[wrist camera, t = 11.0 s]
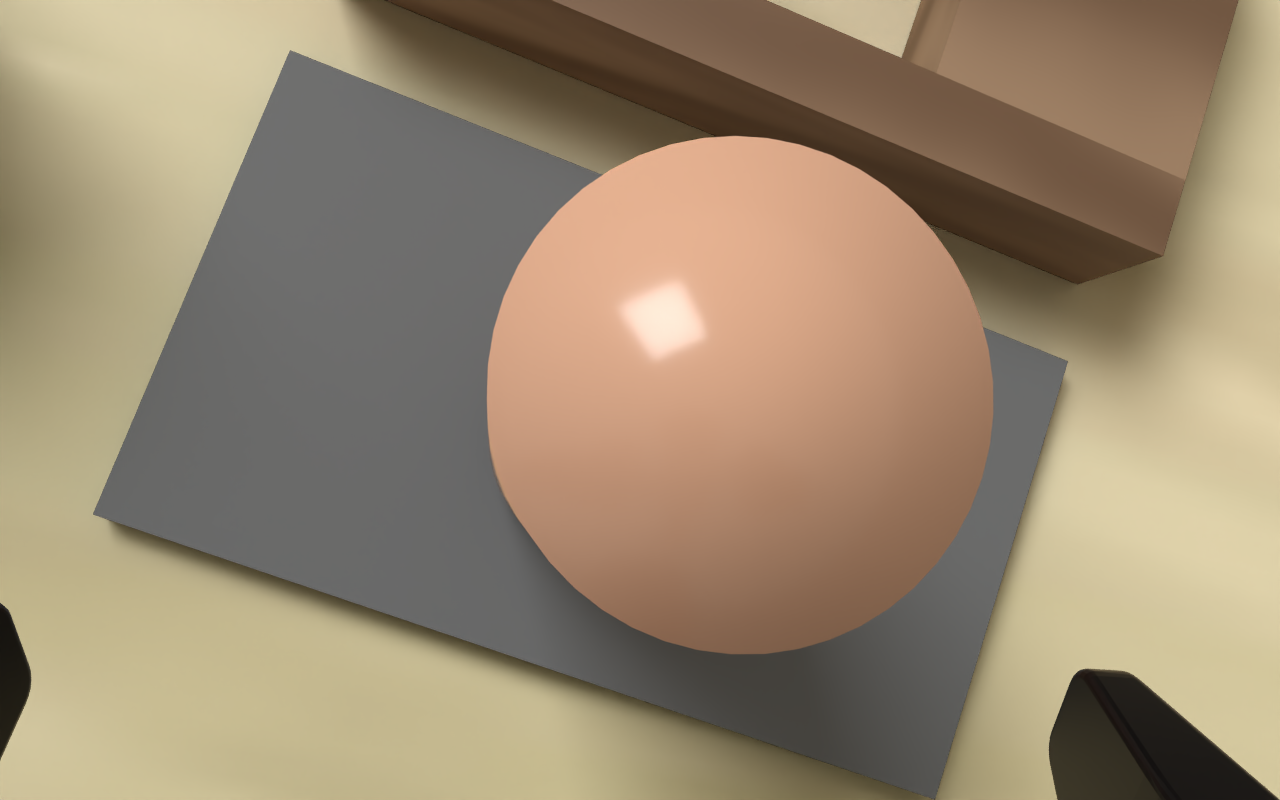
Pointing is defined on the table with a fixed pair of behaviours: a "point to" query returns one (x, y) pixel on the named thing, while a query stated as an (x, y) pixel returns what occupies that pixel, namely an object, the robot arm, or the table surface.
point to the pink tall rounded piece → (739, 395)
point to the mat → (485, 435)
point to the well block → (924, 102)
